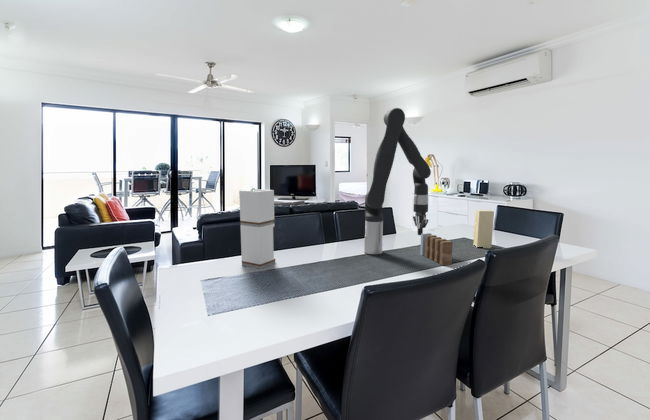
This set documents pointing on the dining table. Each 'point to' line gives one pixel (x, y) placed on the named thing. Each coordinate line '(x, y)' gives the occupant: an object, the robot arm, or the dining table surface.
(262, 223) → the white banded tower
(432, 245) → the walnut domino
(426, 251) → the walnut domino
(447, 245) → the walnut domino
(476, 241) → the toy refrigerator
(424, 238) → the slate domino
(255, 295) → the dining table surface
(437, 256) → the walnut domino
